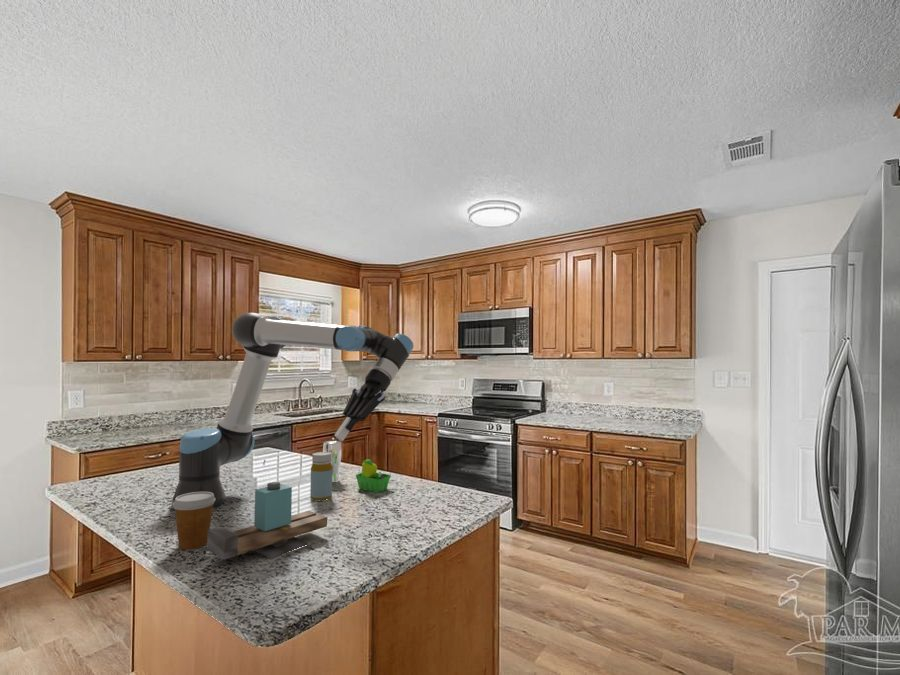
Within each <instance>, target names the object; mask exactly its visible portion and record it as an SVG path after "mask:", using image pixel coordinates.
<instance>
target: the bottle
mask: <svg viewBox="0 0 900 675" xmlns="http://www.w3.org/2000/svg"><path fill="white" fill-rule="evenodd" d="M311 458H312V459H311V460H312V464H311V466H310V488H309V489H310V492H309V496H310V499H311V500H312V499H313V500H326V499H329V498H330V499H331V498H332V496H333V483H332V464H331V453H330V452H323V451H319V452H314V453H312V457H311ZM330 499H329V500H330ZM313 500H312V501H313ZM326 501H327V500H326Z"/></svg>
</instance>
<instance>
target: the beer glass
mask: <svg viewBox="0 0 900 675" xmlns="http://www.w3.org/2000/svg"><path fill="white" fill-rule="evenodd" d="M322 452H330V453H331V464H332V482H337V481H339V480H340V481H341V479H340V478H341V477H340V465H341V461H342V441H340V440H327V441H323V448H322ZM340 481H339V482H340ZM337 483H338V482H337Z"/></svg>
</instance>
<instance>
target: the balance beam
mask: <svg viewBox="0 0 900 675" xmlns="http://www.w3.org/2000/svg"><path fill="white" fill-rule="evenodd" d="M327 527H328V516H325V515H322V514H317V512H315V511H312V510H307V511H302V512H299V513H296V514H291V524H288V525H285V526H281V527H278V528H275V529H271V530H268V531H262V530H261V529H258V528H256V527H254V525H253V526H248V527H244V528H241V529H238V530H233V531H232V530H229V529H227V528H225V527H223V526H217V527H214V528H210V529H209V530H208V539H207V544H206V547H207V548H206V549H207V551H209V552H210V553H212V554H213V555H215V556H217V557H218V558H220V559H222V560H224V561H225V560H227V559H230V558H234V557H237V556H239V555H241V554H245V553H248V552H251V551H255V552H256V553H258V554H260V555H262V556H264V557H266V558H268V559H270V560H271V559H274V558H277V557H280V556H282V555H285V553H286V554H288V553H287V552H289V551H292V550H294V549H297V548H299V547H302V546H305V545H309V543H308V541H305V540H302V539H300V538H298V536H301V535H305V534H307V533H311V532H313V531H314V532H315V531H317V530H320V529H323V528H327ZM292 552H293V551H292ZM289 553H290V552H289Z"/></svg>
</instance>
